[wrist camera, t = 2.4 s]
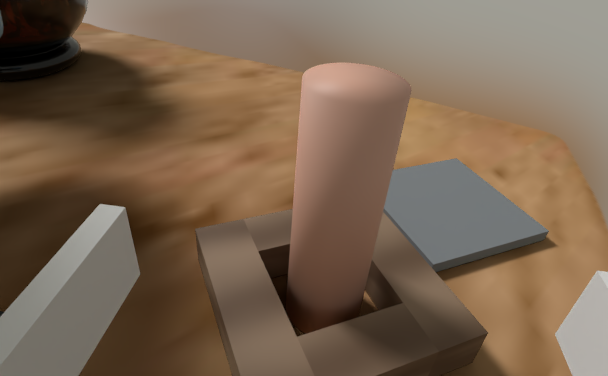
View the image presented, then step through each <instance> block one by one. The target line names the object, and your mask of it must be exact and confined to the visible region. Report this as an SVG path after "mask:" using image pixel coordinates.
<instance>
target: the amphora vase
mask: <svg viewBox="0 0 608 376" xmlns="http://www.w3.org/2000/svg"><path fill="white" fill-rule="evenodd" d="M87 3H88V0H0V11H1V16H2V21H3V34H2V36H1V37H0V80H18V79H28V78H33V77H39V76H44V75H47V74H51V73H54V72H57V71H59V70H62V69H64V68H66V67H68V66H70V65H71V64H73V63H74V62H75V61H77V59H78V58H79V56H80V54H81V47H80V44H79V43H78V42H77V41H76V40H75V39H74V38H72V35H73V34H74V32H75V31H76V30H77V28H78V27H79V25H80V24H81V22H82V20H83V17H84V15H85V13H86V10H87Z"/></svg>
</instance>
